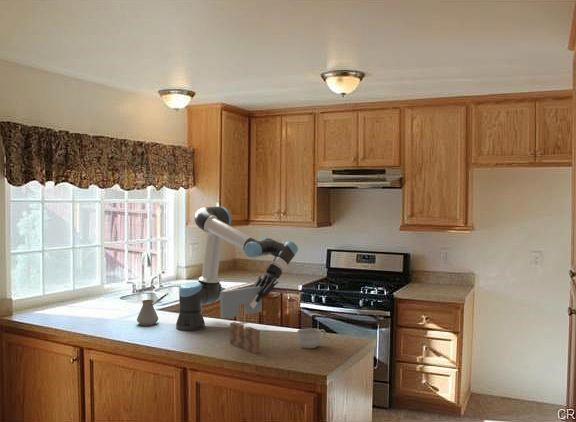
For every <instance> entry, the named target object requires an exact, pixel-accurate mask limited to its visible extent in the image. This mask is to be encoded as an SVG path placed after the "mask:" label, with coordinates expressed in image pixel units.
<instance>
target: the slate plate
mask: <svg viewBox="0 0 576 422" xmlns="http://www.w3.org/2000/svg"><path fill="white" fill-rule="evenodd" d="M261 289H262V287H260V286H256V287H254V286H250V287H243V288H237V289H235V288H234V289H229V290H228V289H227V290H223V291H220V299H219V311H220V312H219V315H220V317H219V318H221V319H229V318H235V317H240V306H241V305H243V314H244V315H252V314H256V313H262V312H263V306H262V305H263V301H262V300H263V298H261V299H260V301H259V302H258V303H257V305H256V306H255V307H254V309H253V308H252V307H251V306H250V303H251V302H252V301H253V299H254V298H255V296H256V295H257V294H258V293H259V292H260V291H261ZM258 295H259V294H258Z"/></svg>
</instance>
